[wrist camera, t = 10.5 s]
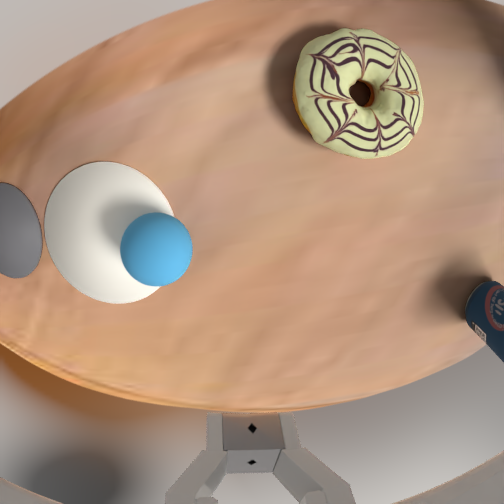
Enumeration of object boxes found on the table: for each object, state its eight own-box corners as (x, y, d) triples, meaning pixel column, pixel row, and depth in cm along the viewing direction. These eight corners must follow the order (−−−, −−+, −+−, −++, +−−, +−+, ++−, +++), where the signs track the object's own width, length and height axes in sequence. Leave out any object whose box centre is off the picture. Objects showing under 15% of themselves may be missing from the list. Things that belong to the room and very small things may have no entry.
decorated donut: (275, 41, 19) (284, 26, 16) (392, 38, 19) (415, 29, 16) (301, 164, 24) (314, 170, 20) (412, 148, 24) (436, 153, 20)
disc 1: (3, 161, 20) (2, 161, 20) (59, 241, 24) (58, 242, 24) (-34, 224, 22) (-35, 225, 21) (14, 293, 25) (13, 294, 25)
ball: (167, 201, 19) (146, 193, 23) (110, 266, 18) (101, 245, 22) (218, 253, 22) (190, 236, 26) (169, 312, 21) (148, 284, 25)
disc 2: (114, 128, 21) (113, 128, 21) (209, 252, 25) (209, 253, 25) (24, 225, 23) (23, 225, 22) (108, 323, 27) (108, 324, 27)
